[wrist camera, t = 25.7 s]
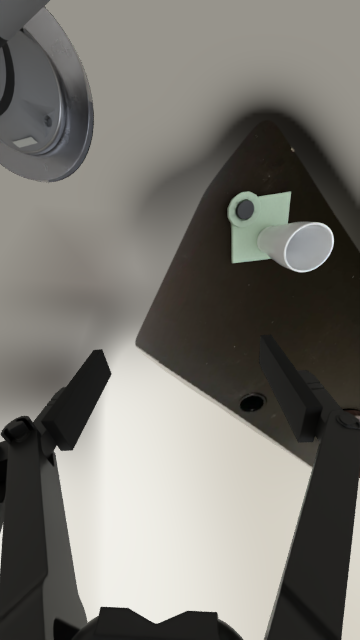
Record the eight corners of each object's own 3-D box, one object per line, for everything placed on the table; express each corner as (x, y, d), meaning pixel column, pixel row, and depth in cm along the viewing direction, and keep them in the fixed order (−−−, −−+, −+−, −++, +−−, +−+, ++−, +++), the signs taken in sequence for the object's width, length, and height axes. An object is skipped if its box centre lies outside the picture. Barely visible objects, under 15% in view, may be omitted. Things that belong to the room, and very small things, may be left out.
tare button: (236, 202, 37) (237, 201, 35) (252, 200, 36) (254, 199, 35) (236, 220, 38) (237, 220, 37) (251, 217, 38) (254, 217, 36)
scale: (225, 196, 38) (228, 194, 36) (288, 186, 37) (296, 183, 35) (227, 262, 44) (229, 265, 42) (281, 256, 43) (287, 258, 40)
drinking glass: (292, 228, 39) (346, 231, 26) (275, 260, 42) (314, 279, 29) (262, 216, 38) (301, 213, 25) (246, 250, 42) (274, 264, 28)
